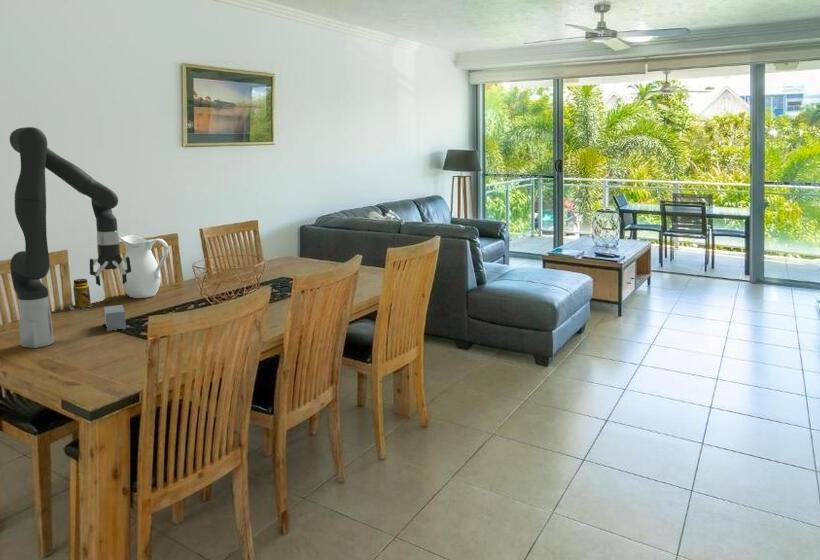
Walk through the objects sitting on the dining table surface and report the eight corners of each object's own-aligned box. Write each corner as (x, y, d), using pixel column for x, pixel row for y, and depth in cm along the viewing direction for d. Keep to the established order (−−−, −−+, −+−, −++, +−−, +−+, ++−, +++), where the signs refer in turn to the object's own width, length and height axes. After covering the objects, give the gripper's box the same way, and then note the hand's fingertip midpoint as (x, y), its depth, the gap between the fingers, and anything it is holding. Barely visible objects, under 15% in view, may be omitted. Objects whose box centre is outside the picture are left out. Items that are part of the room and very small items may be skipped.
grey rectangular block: (126, 329, 240) (124, 311, 238) (107, 331, 237) (105, 313, 235) (123, 321, 249) (122, 304, 248) (105, 323, 246) (103, 306, 245)
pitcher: (114, 298, 285) (108, 238, 279) (140, 290, 301) (135, 233, 295) (158, 302, 279) (153, 241, 272) (182, 294, 294) (178, 235, 288)
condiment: (92, 307, 270) (90, 280, 267) (70, 310, 265) (67, 282, 263) (90, 303, 276) (87, 277, 273) (69, 306, 271) (65, 279, 269)
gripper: (87, 245, 229) (91, 288, 233) (129, 243, 236) (132, 284, 239) (87, 242, 236) (90, 284, 239) (128, 240, 242) (131, 281, 246)
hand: (111, 284), depth 239 cm, fingers open, 8 cm apart
